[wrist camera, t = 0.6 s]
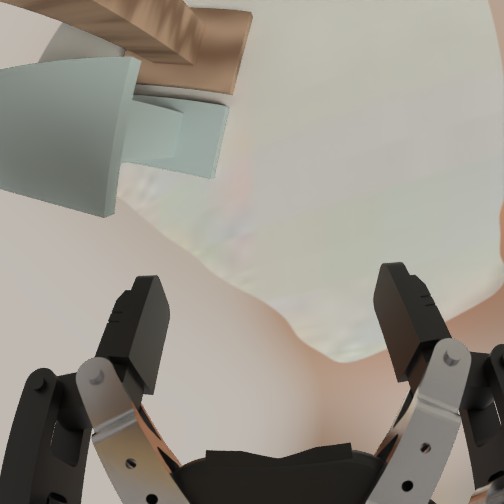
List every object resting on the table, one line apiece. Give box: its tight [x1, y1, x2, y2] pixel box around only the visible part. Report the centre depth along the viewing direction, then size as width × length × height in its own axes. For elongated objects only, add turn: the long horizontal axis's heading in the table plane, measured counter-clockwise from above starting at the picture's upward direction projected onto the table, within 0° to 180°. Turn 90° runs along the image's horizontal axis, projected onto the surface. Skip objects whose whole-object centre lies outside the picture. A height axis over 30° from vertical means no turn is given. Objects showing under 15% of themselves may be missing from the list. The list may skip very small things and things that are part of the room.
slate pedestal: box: [0, 57, 229, 218], centre depth 23 cm, size 8×14×21 cm, turn 77°
